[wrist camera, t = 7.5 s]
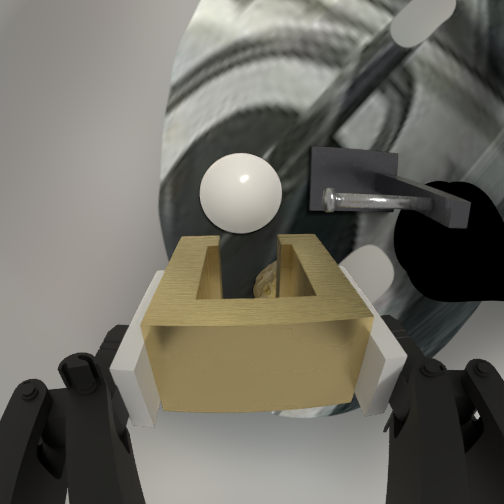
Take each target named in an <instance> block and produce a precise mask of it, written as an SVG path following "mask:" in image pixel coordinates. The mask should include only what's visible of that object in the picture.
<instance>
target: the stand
mask: <svg viewBox="0 0 504 504" xmlns="http://www.w3.org/2000/svg"><path fill="white" fill-rule="evenodd" d="M397 167H398V154H397V153H390V152H381V151H371V150H361V149H349V148H335V147H318V146H310V165H309V194H308V209H309V210H312V211H325V212H334V211H374V212H393V211H394V209H406V210H416V211H418V212H420V213H422V214H424V215H426V216H427V217H429V218H431V219H433V220H435V221H437V222H439V223H441V224H442V225H444V226H446V227H448V228H467V224H468V218H469V212H470V205H471V202H469V201H466V200H464V199H461V198H459V197H456V196H454V195H451V194H449V193H446V192H443V191H441V190H438V189H435V188H432V187H430V186H427V185H424V184H421V183H418V182H415V181H412V180H409V179H406V178H403V177H400V176H397Z"/></svg>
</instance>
